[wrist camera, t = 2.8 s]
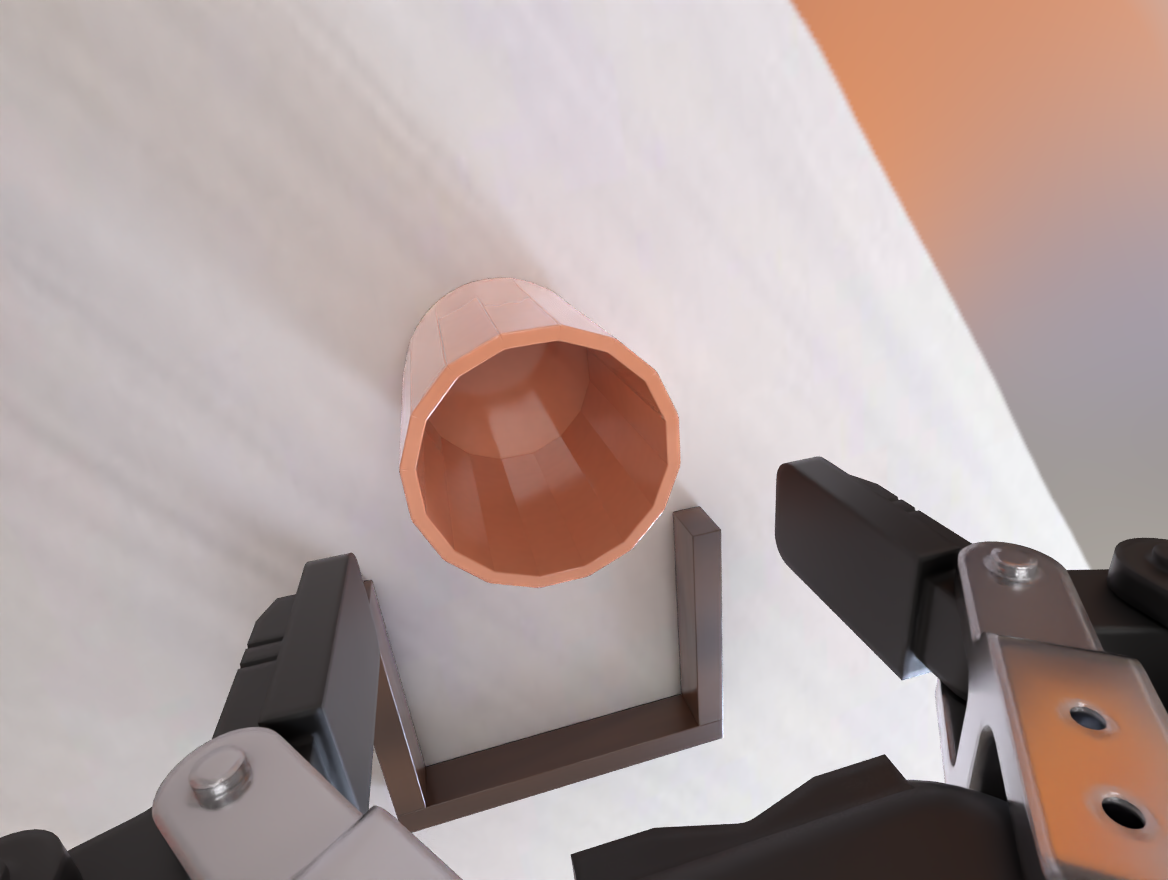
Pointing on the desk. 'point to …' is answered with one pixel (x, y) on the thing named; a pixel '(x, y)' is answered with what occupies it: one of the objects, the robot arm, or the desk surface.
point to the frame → (576, 747)
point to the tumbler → (531, 436)
